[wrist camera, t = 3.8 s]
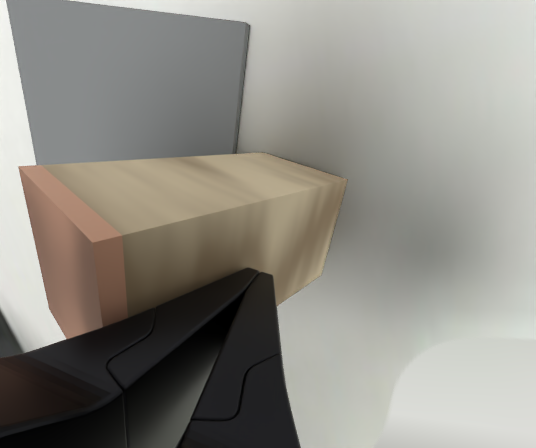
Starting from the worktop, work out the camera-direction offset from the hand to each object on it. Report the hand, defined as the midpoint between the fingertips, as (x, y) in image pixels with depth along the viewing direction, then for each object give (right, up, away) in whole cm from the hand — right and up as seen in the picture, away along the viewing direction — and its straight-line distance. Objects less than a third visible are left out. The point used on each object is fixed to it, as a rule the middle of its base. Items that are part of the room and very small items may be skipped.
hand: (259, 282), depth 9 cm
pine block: (+1, +2, +6) cm, 7 cm away
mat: (-8, +6, +9) cm, 13 cm away
